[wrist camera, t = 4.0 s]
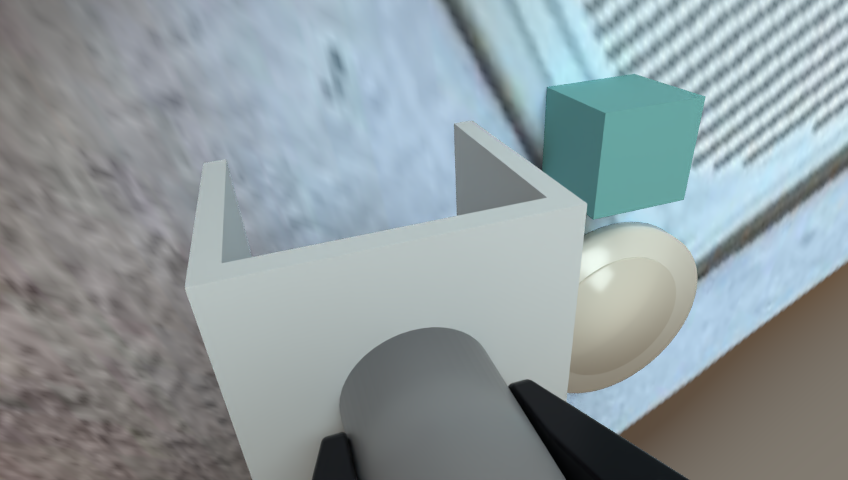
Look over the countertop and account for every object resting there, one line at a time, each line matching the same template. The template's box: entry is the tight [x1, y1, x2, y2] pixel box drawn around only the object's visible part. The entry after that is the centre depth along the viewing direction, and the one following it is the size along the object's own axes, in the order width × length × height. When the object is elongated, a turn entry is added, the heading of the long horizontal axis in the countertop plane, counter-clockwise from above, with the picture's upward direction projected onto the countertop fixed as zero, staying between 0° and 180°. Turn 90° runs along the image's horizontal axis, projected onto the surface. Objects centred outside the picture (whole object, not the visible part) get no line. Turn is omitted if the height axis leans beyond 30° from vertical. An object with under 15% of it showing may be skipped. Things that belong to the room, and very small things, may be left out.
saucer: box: [567, 222, 697, 393], centre depth 27 cm, size 10×10×1 cm
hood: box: [185, 121, 587, 480], centre depth 10 cm, size 7×7×10 cm
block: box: [542, 74, 705, 220], centre depth 20 cm, size 4×4×4 cm
